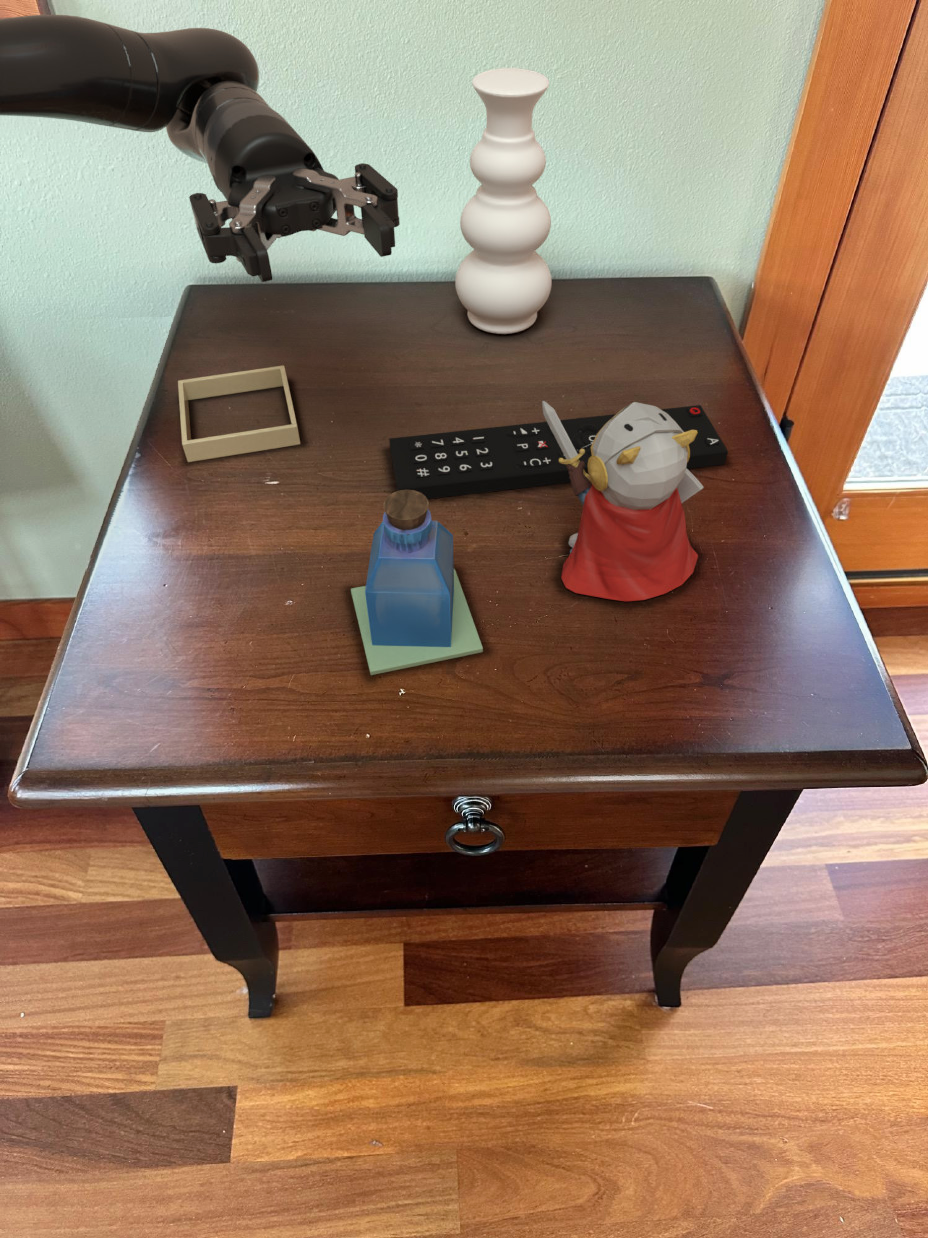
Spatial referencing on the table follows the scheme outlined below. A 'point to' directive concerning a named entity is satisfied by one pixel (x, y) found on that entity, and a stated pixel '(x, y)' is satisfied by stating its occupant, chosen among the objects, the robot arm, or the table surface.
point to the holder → (241, 440)
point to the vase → (506, 208)
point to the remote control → (520, 454)
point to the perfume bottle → (410, 576)
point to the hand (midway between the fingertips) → (327, 254)
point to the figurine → (630, 506)
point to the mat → (410, 656)
